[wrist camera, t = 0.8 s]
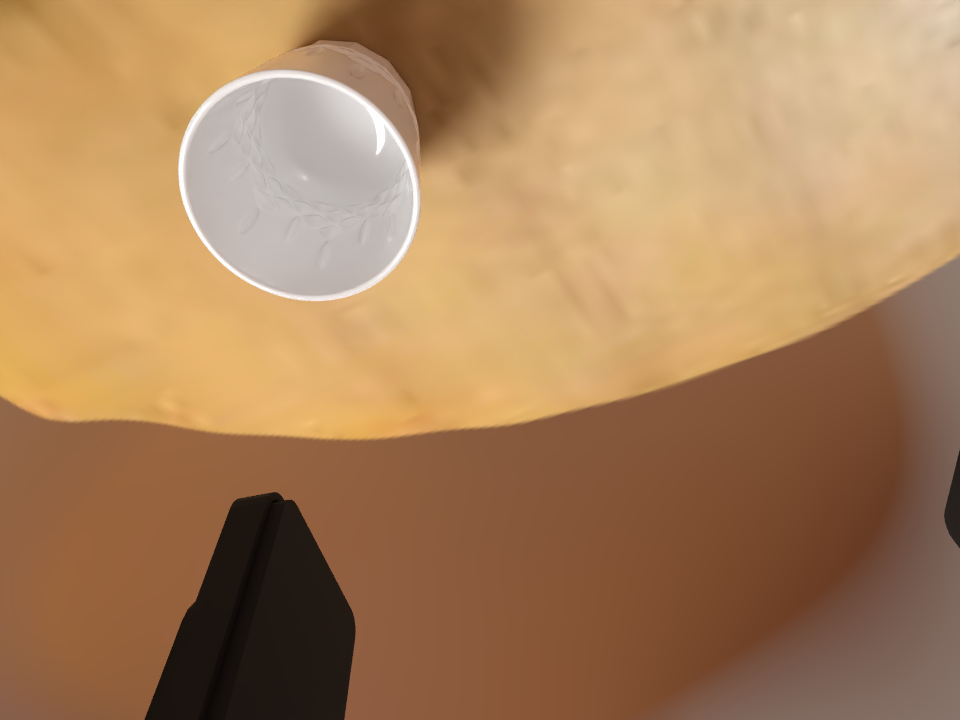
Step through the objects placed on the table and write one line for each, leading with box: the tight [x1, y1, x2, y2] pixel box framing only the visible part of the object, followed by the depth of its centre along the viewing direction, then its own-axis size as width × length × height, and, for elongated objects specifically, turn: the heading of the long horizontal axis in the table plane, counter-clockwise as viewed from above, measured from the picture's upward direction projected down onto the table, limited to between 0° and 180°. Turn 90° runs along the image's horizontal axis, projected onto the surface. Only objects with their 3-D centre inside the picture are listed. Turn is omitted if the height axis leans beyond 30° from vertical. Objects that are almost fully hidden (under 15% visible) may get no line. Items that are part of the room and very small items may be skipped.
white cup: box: [178, 40, 421, 301], centre depth 26 cm, size 8×8×10 cm
